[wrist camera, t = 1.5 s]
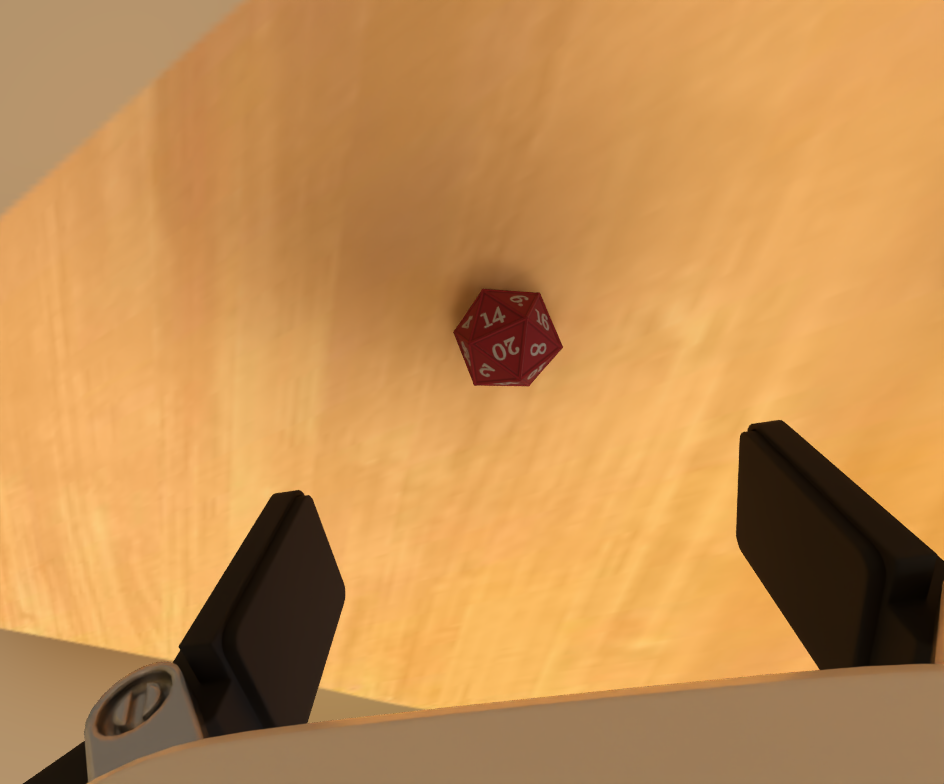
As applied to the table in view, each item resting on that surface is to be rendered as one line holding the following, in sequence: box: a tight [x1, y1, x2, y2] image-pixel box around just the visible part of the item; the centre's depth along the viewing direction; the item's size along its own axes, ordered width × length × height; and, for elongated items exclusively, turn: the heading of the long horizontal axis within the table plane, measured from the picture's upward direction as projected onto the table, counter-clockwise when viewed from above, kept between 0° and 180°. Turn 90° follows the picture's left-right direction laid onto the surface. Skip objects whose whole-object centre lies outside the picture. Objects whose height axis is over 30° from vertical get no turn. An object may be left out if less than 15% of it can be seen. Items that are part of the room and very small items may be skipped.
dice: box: [453, 289, 563, 386], centre depth 20 cm, size 4×4×4 cm
